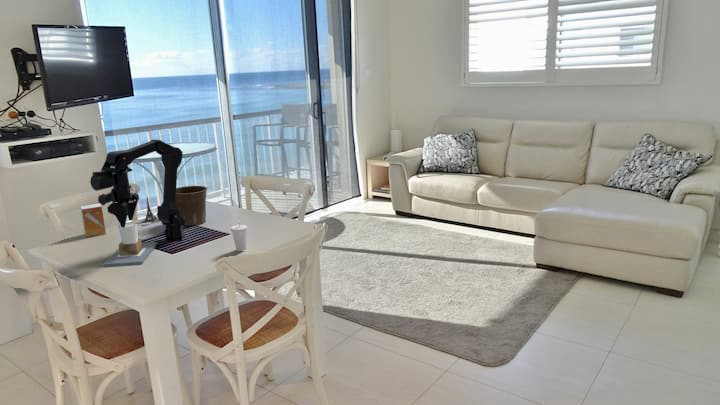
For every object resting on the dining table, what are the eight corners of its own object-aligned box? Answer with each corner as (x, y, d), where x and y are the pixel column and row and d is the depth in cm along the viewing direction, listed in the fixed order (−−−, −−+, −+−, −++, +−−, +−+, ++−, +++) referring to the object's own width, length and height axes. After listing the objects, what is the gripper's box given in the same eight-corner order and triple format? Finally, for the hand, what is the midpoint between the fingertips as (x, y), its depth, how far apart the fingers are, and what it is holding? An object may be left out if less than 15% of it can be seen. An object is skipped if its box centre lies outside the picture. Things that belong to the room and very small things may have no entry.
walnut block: (142, 248, 209) (140, 238, 208) (137, 254, 203) (136, 244, 201) (125, 249, 208) (123, 239, 207) (120, 255, 202) (118, 245, 201)
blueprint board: (157, 244, 217) (157, 241, 217) (142, 264, 196) (141, 261, 196) (122, 246, 215) (122, 244, 215) (103, 266, 194) (103, 263, 194)
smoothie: (252, 248, 209) (249, 214, 205) (244, 253, 203) (240, 219, 199) (238, 246, 211) (235, 213, 207) (229, 252, 205) (226, 218, 202)
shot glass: (124, 239, 207) (121, 222, 205) (141, 238, 208) (139, 221, 206) (117, 245, 201) (115, 228, 199) (136, 244, 201) (133, 227, 199)
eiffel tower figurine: (142, 227, 241) (138, 200, 238) (130, 224, 247) (126, 197, 244) (170, 219, 253) (167, 193, 249) (158, 216, 259) (155, 190, 255)
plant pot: (201, 215, 257) (197, 183, 252) (216, 221, 245) (213, 188, 241) (169, 222, 246) (164, 189, 242) (184, 230, 235) (179, 195, 230)
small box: (86, 237, 228) (81, 209, 225) (84, 234, 233) (79, 206, 230) (106, 233, 232) (101, 206, 229) (104, 230, 238) (99, 203, 234)
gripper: (107, 180, 206) (113, 218, 210) (89, 191, 188) (96, 232, 192) (136, 179, 207) (142, 216, 211) (121, 190, 189) (127, 230, 194)
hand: (127, 223), depth 202 cm, fingers open, 9 cm apart
